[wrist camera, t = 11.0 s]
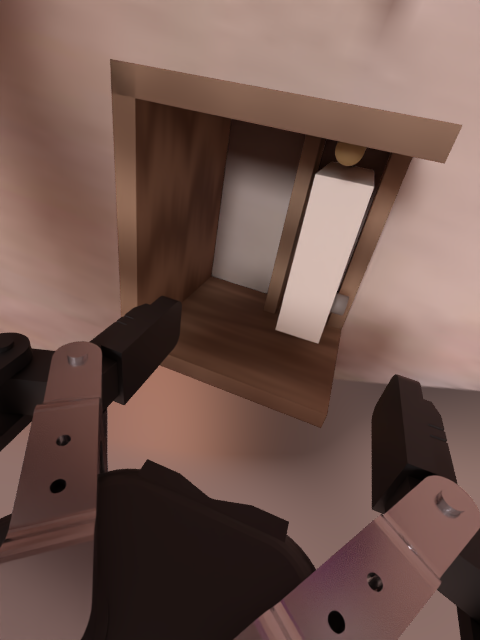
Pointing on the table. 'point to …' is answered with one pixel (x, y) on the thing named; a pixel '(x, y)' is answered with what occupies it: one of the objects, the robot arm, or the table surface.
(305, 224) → the door
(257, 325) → the cabinet
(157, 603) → the robot arm
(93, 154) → the table surface
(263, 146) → the table surface
